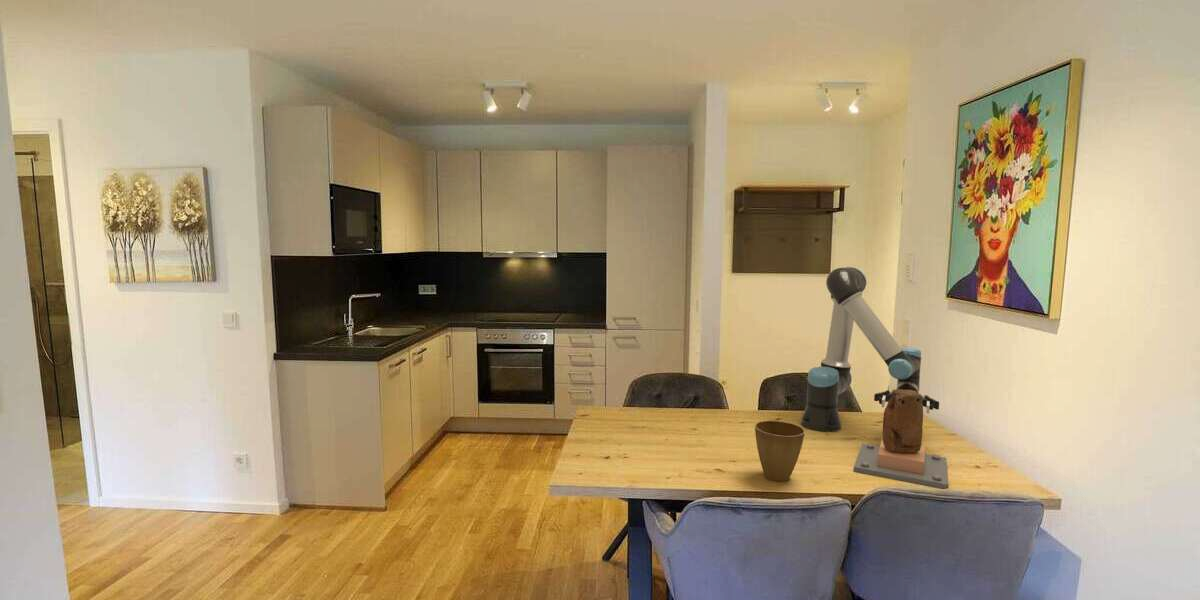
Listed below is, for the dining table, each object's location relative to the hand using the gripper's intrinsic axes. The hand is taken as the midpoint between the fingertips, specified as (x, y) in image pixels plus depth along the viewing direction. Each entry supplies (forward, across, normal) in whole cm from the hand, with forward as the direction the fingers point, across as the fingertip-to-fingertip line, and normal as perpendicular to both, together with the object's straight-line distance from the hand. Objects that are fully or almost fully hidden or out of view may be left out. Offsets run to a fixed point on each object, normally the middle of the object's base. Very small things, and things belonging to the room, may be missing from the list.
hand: (905, 406), depth 191 cm
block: (+10, 0, -13) cm, 16 cm away
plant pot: (+41, +33, -18) cm, 55 cm away
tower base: (+10, 0, -18) cm, 20 cm away
